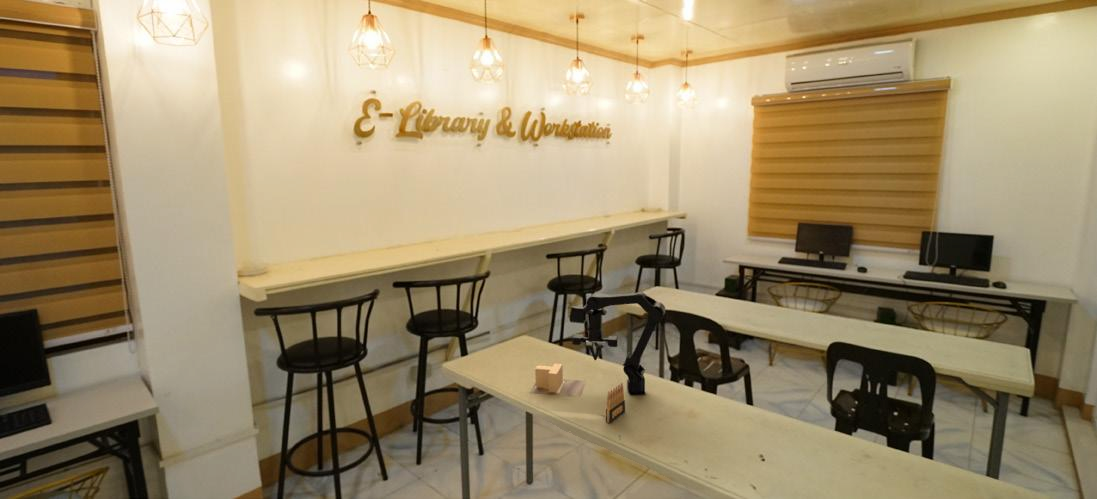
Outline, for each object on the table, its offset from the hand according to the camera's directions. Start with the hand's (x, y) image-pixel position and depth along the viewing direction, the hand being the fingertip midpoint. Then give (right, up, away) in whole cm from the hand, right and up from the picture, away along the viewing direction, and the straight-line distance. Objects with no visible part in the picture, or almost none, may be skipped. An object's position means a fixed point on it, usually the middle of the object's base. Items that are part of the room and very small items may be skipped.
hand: (595, 359), depth 217 cm
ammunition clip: (+5, -17, -23) cm, 29 cm away
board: (-15, -13, 0) cm, 20 cm away
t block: (-20, -11, +1) cm, 23 cm away
